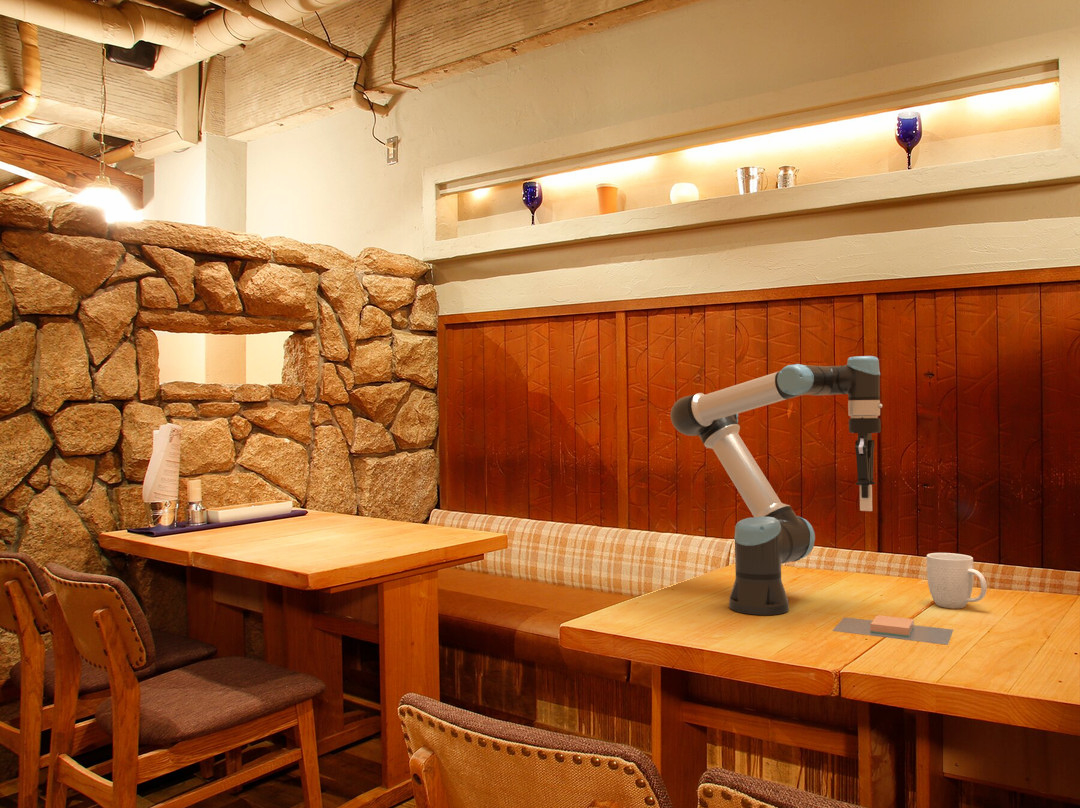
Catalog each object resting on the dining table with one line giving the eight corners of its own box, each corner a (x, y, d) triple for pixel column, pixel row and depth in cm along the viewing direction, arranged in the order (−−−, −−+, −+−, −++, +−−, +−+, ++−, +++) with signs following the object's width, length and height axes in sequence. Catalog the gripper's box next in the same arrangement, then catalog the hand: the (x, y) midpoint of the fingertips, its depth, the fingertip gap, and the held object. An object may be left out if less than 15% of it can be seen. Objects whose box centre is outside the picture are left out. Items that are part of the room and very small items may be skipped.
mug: (997, 609, 210) (996, 558, 210) (974, 616, 204) (973, 563, 204) (942, 599, 222) (941, 551, 222) (918, 604, 216) (917, 555, 216)
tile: (877, 623, 194) (870, 632, 186) (877, 615, 194) (870, 623, 186) (914, 627, 190) (908, 637, 182) (913, 619, 190) (908, 628, 182)
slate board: (832, 634, 188) (832, 630, 188) (844, 621, 200) (844, 617, 200) (947, 649, 176) (947, 644, 176) (953, 633, 188) (953, 629, 188)
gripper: (875, 417, 199) (877, 514, 199) (884, 416, 210) (886, 508, 210) (843, 417, 203) (845, 512, 203) (853, 417, 214) (855, 507, 214)
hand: (866, 510), depth 206 cm, fingers closed
